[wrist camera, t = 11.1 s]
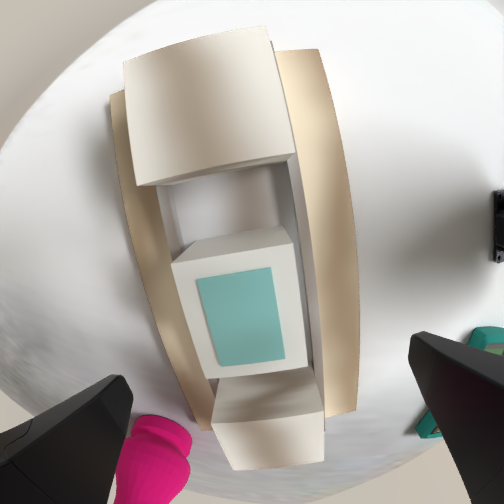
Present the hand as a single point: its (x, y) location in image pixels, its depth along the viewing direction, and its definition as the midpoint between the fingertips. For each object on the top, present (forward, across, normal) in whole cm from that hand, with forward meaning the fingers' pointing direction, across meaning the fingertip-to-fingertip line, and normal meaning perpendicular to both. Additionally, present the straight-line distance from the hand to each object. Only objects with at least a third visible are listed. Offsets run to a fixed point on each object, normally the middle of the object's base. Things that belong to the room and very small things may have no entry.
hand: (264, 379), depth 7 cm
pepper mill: (+11, +13, +16) cm, 24 cm away
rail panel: (+11, +1, 0) cm, 11 cm away
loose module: (+9, +1, 0) cm, 9 cm away
